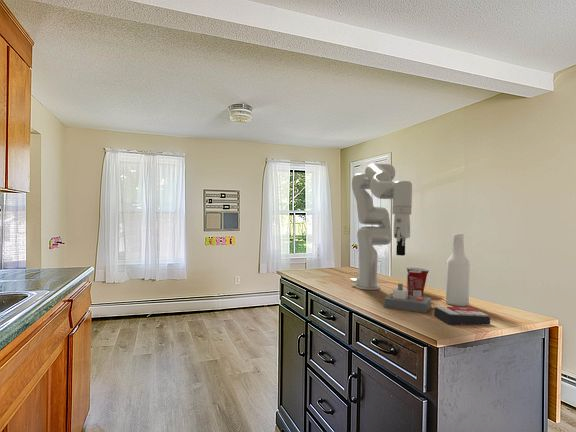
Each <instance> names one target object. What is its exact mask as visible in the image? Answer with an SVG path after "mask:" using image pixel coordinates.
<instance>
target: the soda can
mask: <svg viewBox="0 0 576 432" xmlns="http://www.w3.org/2000/svg"><path fill="white" fill-rule="evenodd" d="M406 275H407V277H406V279H407V280H406V289H408V295H410V296H418V297H423V294H424V292H423V275H422V273H421V271H416V270H410V271H409V273H408V272H407V274H406Z"/></svg>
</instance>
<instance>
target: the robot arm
mask: <svg viewBox="0 0 576 432" xmlns="http://www.w3.org/2000/svg"><path fill="white" fill-rule="evenodd" d="M395 177H396V169H395V167H394V165H392V164H390V163H370V164H369V165H367V166H366V168H365V170H364V172H361V173H360V172H359V173H356V174H354V175H353V176H352V178H351V189H352V193H353V196H354V198H355V202H356V210H357V211H356V213H357V219H358V222H359V224H361V225H367V226H362V227H360V228H358V230H357V233H356V237H357V245H358V246H357V247H358V277H357V278H353V277H352V278H350V282H351V283H355V284H354V287H355V288H356V289H359V290H365V291H367V290H368V291H375V290H376V291H377V290H380V289H381V286H380V285H379V284H378V260H379V259H378V255H379V254H378V252H377V250H376V249H375V247H374V246H387V245H389V244H390V243H392V238H395V239H396V253H395V254H396V256H403V257H404V256H405V255H406V241H407V239H409V238H411V219H410V218H411V217H410V216H411V215H412V205H413V202H412V201H413V184H412V181H409V180H396V181H393V180H394V179H395ZM367 190H370V192H371V194H372V195H374V197H375V198H377V199H380V200H381V199H382V200H392V215H394V218H393V236H392V227H391V219H390V213H389V212H388V210H387V209H386V208H385V207H382V206H374V201H373V198H372V195H371V194H370V193H369V192H368V191H367Z"/></svg>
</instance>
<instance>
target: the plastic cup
mask: <svg viewBox="0 0 576 432" xmlns="http://www.w3.org/2000/svg"><path fill="white" fill-rule="evenodd" d="M405 269H406V271H407V274H408V273H409V271H410V270H416V271H421V273H422V275H423V293H424V291H425V287H426V283H427V276H428V274H429V272H430V269H426V268H420V267H406V268H405Z"/></svg>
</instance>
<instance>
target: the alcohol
mask: <svg viewBox="0 0 576 432" xmlns="http://www.w3.org/2000/svg"><path fill="white" fill-rule="evenodd" d="M452 238H453V240H452V241H453V242H452V252H451V253H450V254H451V255H450V256H449V257H448V258H447V261H446V276H445V277H446V279H445V281H446V283H445V285H446V286H445V292H446V293H445V302H446V304H448V305H450V306H452V307H467V306H468V305H469V304H470V261H469V260H468V257H466V255H465V248H464V247H465V245H464V234H463V233H453V237H452Z"/></svg>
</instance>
